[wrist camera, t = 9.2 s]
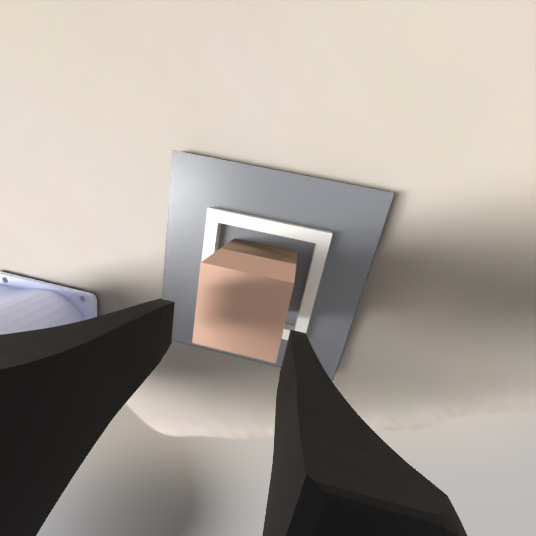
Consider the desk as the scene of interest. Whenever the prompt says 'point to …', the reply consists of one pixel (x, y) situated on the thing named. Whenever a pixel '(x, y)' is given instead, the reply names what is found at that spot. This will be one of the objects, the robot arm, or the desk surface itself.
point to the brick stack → (244, 299)
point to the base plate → (274, 242)
